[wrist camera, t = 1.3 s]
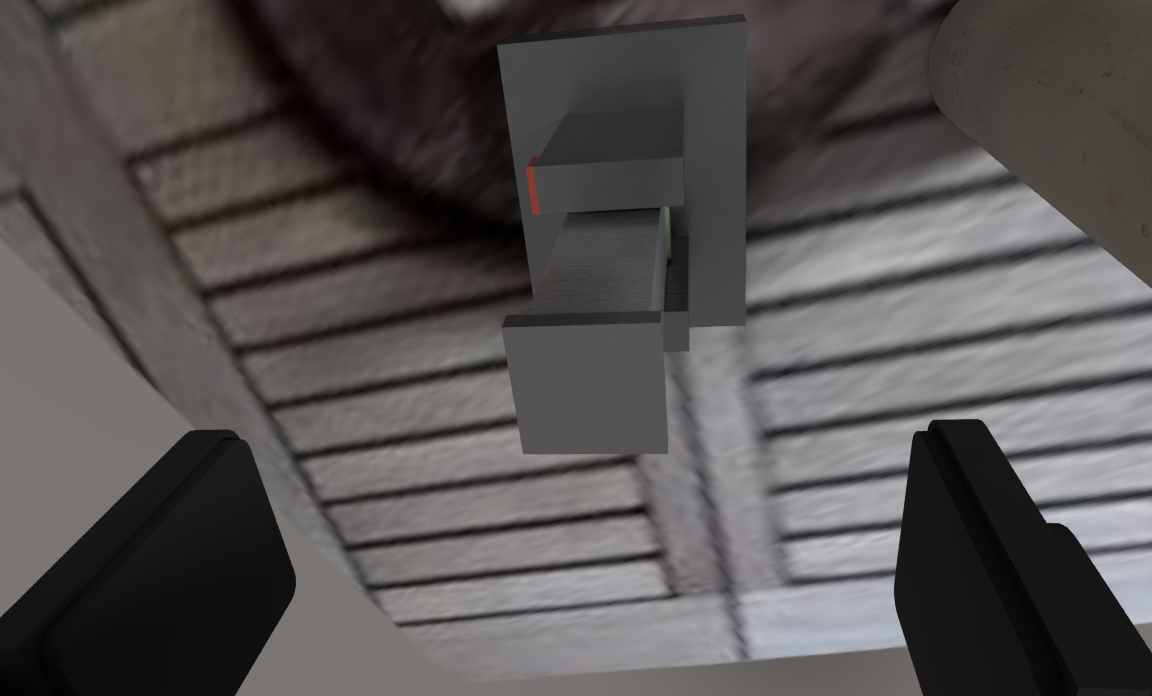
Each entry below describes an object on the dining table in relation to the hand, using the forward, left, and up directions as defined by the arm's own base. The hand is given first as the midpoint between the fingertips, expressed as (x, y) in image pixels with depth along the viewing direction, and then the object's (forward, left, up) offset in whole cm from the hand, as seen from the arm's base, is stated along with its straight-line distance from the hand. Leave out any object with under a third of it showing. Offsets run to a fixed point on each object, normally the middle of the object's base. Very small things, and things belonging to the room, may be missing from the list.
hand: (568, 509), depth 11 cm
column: (+6, -2, -31) cm, 31 cm away
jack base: (+6, -2, -34) cm, 34 cm away
